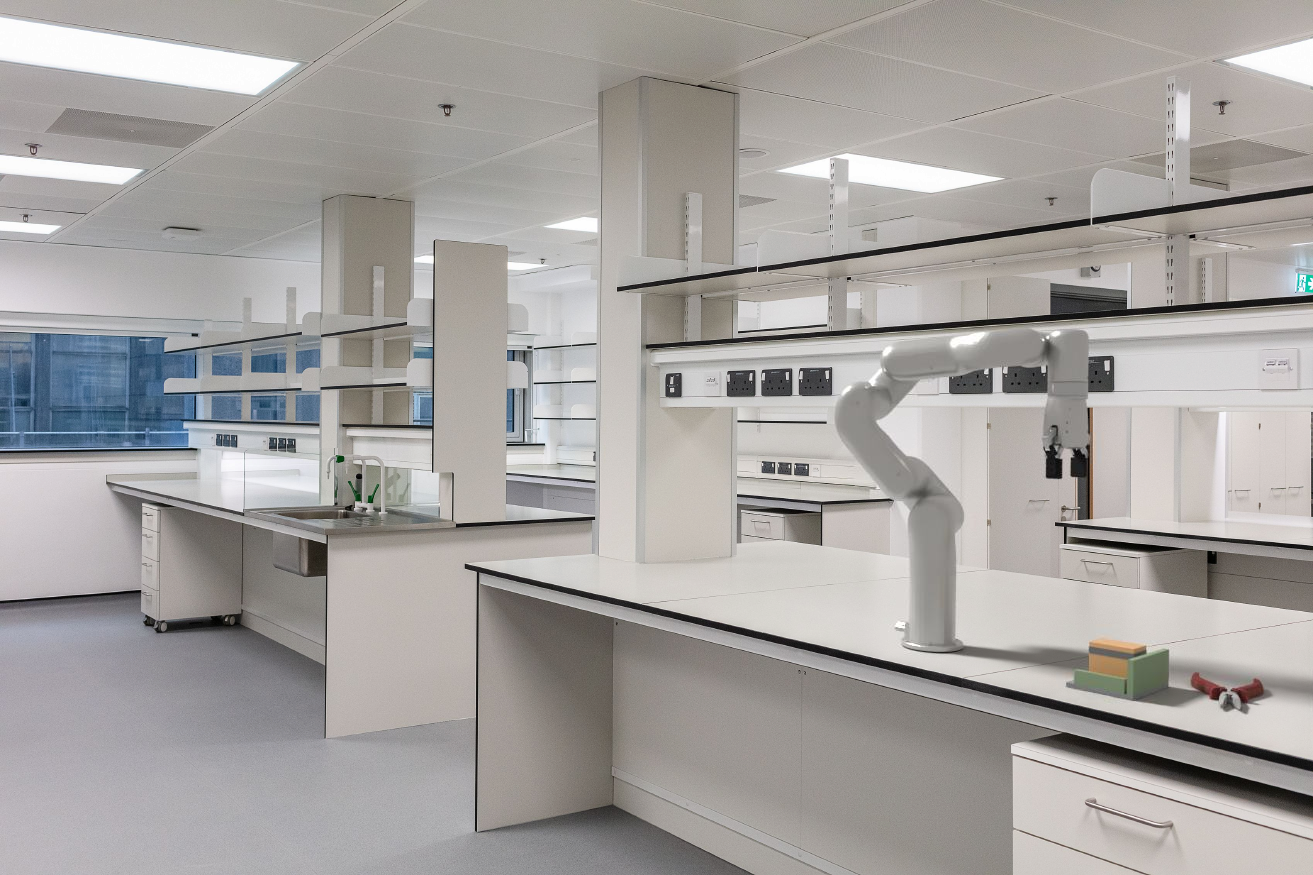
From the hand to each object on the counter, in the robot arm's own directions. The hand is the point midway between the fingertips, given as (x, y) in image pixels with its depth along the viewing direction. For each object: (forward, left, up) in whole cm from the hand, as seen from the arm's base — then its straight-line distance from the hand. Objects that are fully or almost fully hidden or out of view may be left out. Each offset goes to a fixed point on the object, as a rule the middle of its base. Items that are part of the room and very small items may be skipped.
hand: (1066, 477), depth 210 cm
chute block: (+17, -13, -36) cm, 41 cm away
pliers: (+31, -5, -37) cm, 49 cm away
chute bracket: (+17, -13, -36) cm, 42 cm away
